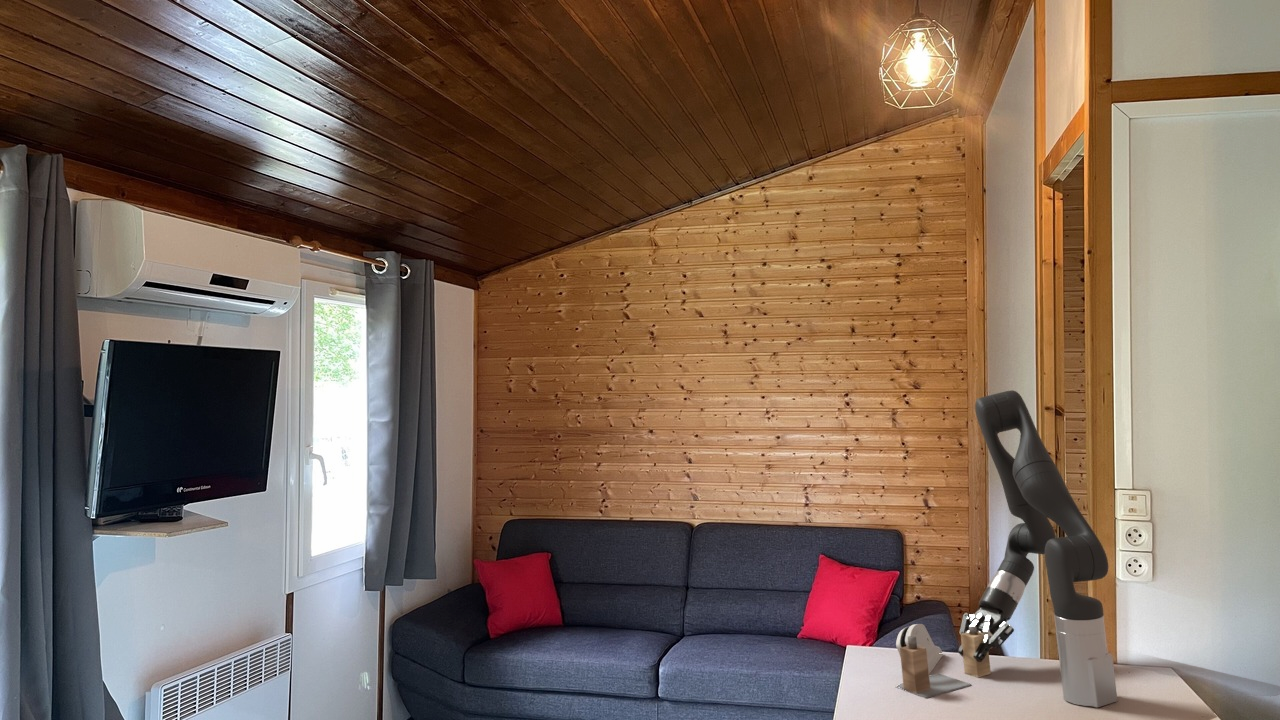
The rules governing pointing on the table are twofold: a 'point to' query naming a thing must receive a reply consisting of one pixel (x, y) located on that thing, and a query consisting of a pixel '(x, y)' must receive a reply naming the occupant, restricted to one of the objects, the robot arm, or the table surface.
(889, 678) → the table surface
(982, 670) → the wooden peg block
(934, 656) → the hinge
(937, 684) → the mount
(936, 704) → the table surface
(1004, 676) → the table surface
